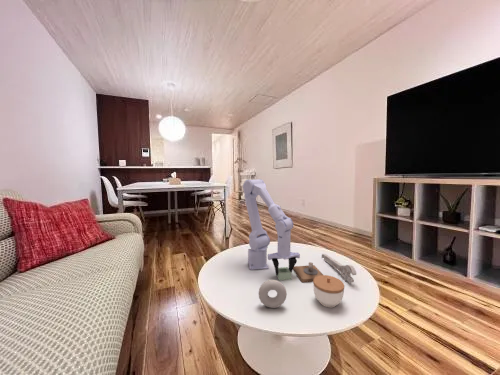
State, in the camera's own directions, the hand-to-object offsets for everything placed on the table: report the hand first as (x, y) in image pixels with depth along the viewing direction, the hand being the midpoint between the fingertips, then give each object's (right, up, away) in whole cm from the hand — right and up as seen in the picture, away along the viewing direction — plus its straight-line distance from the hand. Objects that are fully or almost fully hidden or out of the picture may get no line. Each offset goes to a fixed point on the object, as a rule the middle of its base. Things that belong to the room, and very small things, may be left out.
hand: (283, 273), depth 96 cm
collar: (0, -1, 0) cm, 1 cm away
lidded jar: (+14, -3, -18) cm, 23 cm away
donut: (-7, -4, -21) cm, 22 cm away
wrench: (+27, -1, +6) cm, 27 cm away
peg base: (+12, -1, +2) cm, 12 cm away
